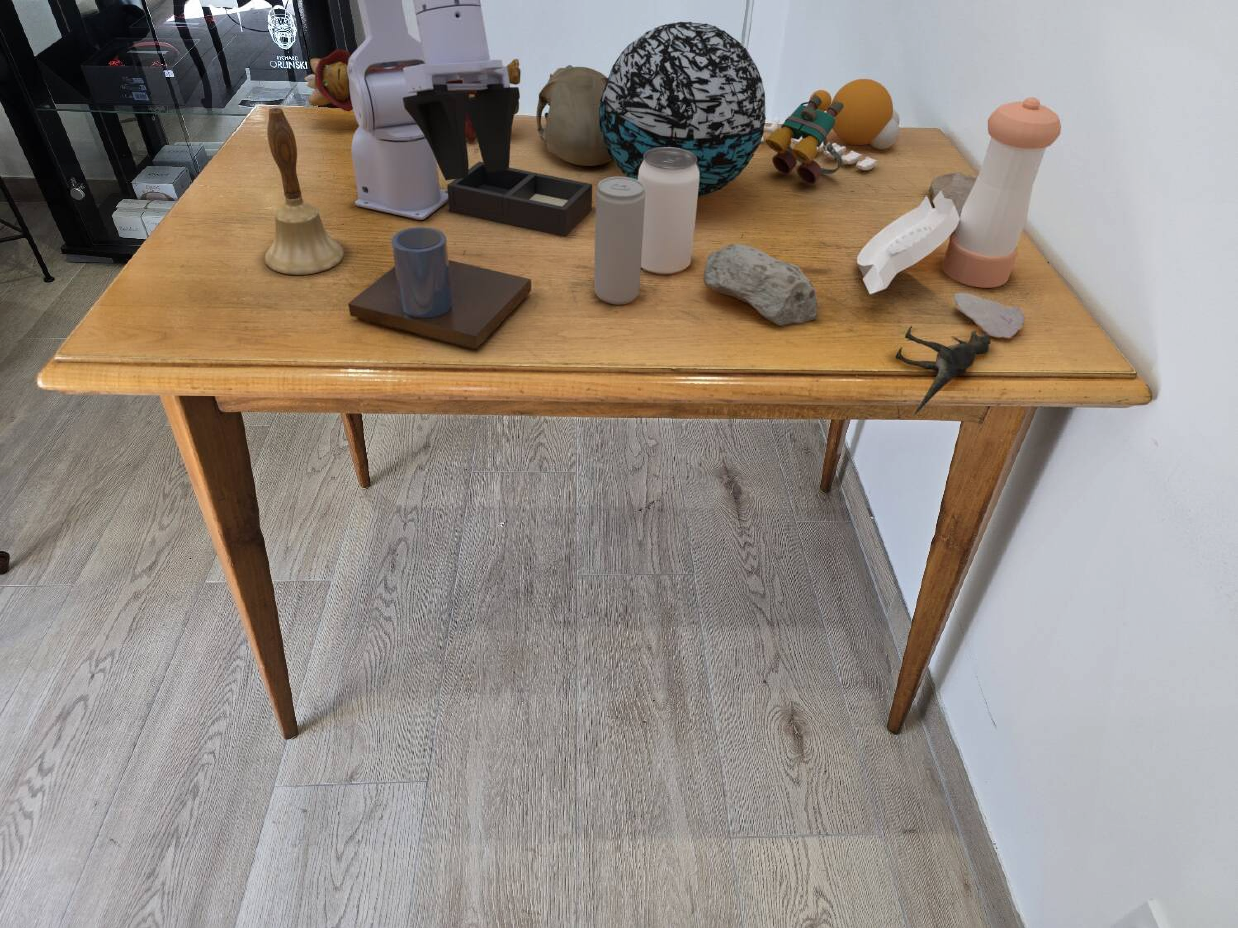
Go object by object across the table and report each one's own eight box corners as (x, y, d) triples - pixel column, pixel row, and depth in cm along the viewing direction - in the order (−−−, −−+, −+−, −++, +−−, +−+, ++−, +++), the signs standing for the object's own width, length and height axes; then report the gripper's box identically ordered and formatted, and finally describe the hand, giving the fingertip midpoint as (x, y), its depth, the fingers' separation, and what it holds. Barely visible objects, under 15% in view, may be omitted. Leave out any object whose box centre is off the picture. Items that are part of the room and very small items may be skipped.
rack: (449, 211, 107) (446, 185, 105) (480, 186, 113) (479, 161, 111) (565, 236, 103) (565, 210, 101) (592, 209, 109) (592, 184, 107)
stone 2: (1006, 348, 89) (1014, 332, 88) (938, 317, 92) (945, 301, 91) (1027, 325, 92) (1034, 309, 91) (961, 295, 95) (967, 279, 94)
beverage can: (634, 309, 91) (641, 199, 83) (589, 303, 92) (591, 193, 84) (642, 287, 95) (649, 179, 87) (599, 281, 95) (602, 173, 88)
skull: (598, 94, 130) (609, 25, 120) (625, 189, 123) (640, 124, 113) (521, 98, 127) (526, 27, 117) (544, 194, 120) (551, 128, 110)
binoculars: (770, 180, 123) (754, 129, 114) (810, 132, 124) (797, 77, 115) (825, 203, 118) (812, 150, 109) (866, 153, 119) (856, 97, 110)
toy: (806, 171, 128) (910, 155, 127) (807, 105, 121) (917, 88, 120) (793, 141, 134) (893, 126, 133) (794, 78, 127) (898, 61, 127)
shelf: (351, 321, 87) (347, 303, 86) (415, 268, 96) (412, 251, 95) (476, 354, 84) (475, 336, 83) (531, 296, 92) (531, 279, 91)
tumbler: (390, 311, 85) (380, 244, 81) (417, 287, 89) (409, 222, 84) (436, 322, 84) (428, 255, 79) (461, 298, 88) (456, 232, 83)
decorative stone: (694, 317, 91) (699, 273, 87) (708, 268, 99) (713, 226, 95) (814, 334, 89) (824, 290, 86) (818, 283, 97) (827, 241, 94)
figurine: (513, 137, 118) (293, 130, 119) (526, 169, 131) (328, 162, 132) (519, 18, 118) (299, 11, 119) (531, 61, 131) (332, 55, 132)
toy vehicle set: (866, 165, 119) (862, 178, 121) (879, 157, 122) (876, 170, 123) (791, 136, 125) (789, 149, 126) (806, 129, 127) (803, 142, 128)
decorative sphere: (637, 239, 103) (648, 57, 90) (572, 172, 117) (573, 7, 104) (784, 214, 110) (814, 41, 97) (706, 154, 123) (723, -4, 110)
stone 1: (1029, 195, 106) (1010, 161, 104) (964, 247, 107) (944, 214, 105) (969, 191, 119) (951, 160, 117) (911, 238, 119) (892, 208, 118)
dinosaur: (925, 325, 92) (988, 355, 90) (851, 404, 79) (923, 442, 76) (939, 295, 90) (1004, 325, 88) (866, 371, 76) (940, 409, 74)
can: (697, 255, 101) (708, 151, 93) (681, 280, 96) (692, 174, 88) (643, 244, 102) (650, 141, 95) (625, 269, 98) (630, 163, 90)
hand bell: (359, 250, 98) (335, 104, 88) (310, 282, 93) (278, 130, 82) (300, 233, 101) (270, 89, 91) (248, 264, 95) (210, 114, 85)
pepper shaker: (974, 293, 96) (1035, 115, 84) (928, 264, 101) (979, 91, 89) (1022, 280, 99) (1088, 106, 87) (974, 252, 104) (1031, 83, 91)
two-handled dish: (981, 189, 103) (976, 175, 102) (925, 274, 86) (918, 258, 86) (900, 222, 110) (894, 209, 109) (833, 307, 93) (826, 292, 93)
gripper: (442, -3, 69) (475, 177, 74) (527, 9, 81) (550, 163, 86) (369, 13, 72) (406, 186, 76) (461, 23, 84) (488, 171, 89)
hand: (478, 175), depth 81 cm, fingers open, 7 cm apart
